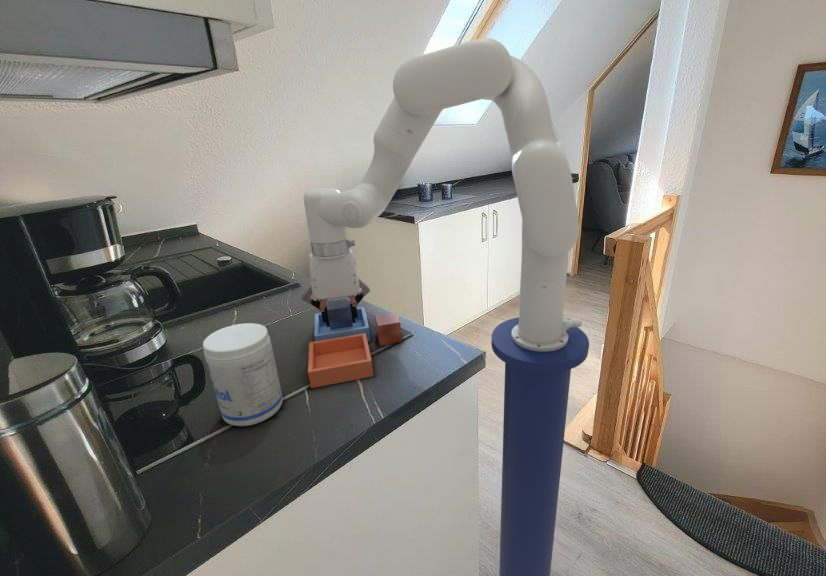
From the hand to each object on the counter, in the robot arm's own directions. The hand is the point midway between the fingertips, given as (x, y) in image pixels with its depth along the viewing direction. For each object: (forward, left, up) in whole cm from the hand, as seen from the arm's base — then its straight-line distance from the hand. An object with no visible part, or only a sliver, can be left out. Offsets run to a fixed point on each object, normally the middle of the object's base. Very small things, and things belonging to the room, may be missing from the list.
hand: (340, 321), depth 94 cm
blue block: (0, 0, 0) cm, 0 cm away
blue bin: (0, 0, -3) cm, 3 cm away
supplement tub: (+16, +23, -3) cm, 28 cm away
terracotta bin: (+1, +14, -3) cm, 14 cm away
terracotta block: (-10, +6, -3) cm, 12 cm away
